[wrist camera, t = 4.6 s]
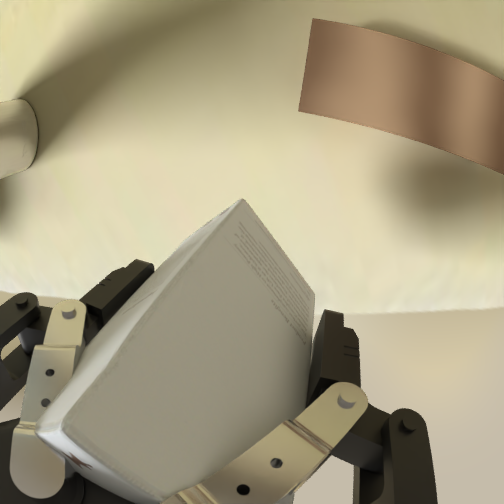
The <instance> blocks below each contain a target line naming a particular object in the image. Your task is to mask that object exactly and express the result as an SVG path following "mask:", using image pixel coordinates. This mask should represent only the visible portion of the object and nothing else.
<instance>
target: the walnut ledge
mask: <svg viewBox="0 0 504 504" xmlns="http://www.w3.org/2000/svg"><path fill="white" fill-rule="evenodd" d="M298 111H299V112H305V113H310V114H315V115H320V116H325V117H329V118H334V119H338V120H343V121H347V122H351V123H355V124H359V125H363V126H367V127H371V128H375V129H378V130H382V131H386V132H389V133H393V134H396V135H399V136H403V137H406V138H409V139H412V140H415V141H419V142H422V143H425V144H428V145H431V146H433V147H436V148H439V149H442V150H445V151H447V152H450V153H453V154H456V155H458V156H461V157H463V158H466V159H468V160H471V161H473V162H476V163H478V164H481V165H483V166H485V167H488V168H490V169H492V170H495V171H497V172H499V173H501V174H504V80H502V79H500V78H498V77H496V76H494V75H492V74H490V73H488V72H486V71H484V70H482V69H480V68H478V67H476V66H474V65H472V64H469V63H467V62H465V61H463V60H460V59H458V58H455V57H453V56H451V55H448V54H446V53H443V52H440V51H438V50H435V49H432V48H430V47H427V46H424V45H421V44H418V43H415V42H412V41H409V40H406V39H403V38H399V37H396V36H392V35H389V34H385V33H382V32H378V31H374V30H370V29H366V28H362V27H357V26H353V25H348V24H343V23H338V22H332V21H326V20H320V19H314V18H313V19H312V26H311V33H310V39H309V46H308V53H307V59H306V66H305V72H304V79H303V85H302V91H301V97H300V103H299V110H298Z"/></svg>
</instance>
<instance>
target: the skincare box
mask: <svg viewBox="0 0 504 504" xmlns="http://www.w3.org/2000/svg"><path fill="white" fill-rule="evenodd" d="M314 305H315V293H314V292H313V291H312V289H311V288H310V286H309V285H308V284H307V282H306V281H305V280H304V278H303V277H302V276H301V274H300V273H299V272H298V270H297V269H296V267H295V266H294V265H293V263H292V262H291V261H290V259H289V258H288V256H287V255H286V254H285V252H284V251H283V250H282V248H281V247H280V246H279V244H278V243H277V242H276V240H275V239H274V238H273V236H272V235H271V234H270V232H269V231H268V230H267V228H266V227H265V226H264V224H263V223H262V222H261V220H260V219H259V218H258V216H257V215H256V213H255V212H254V211H253V209H252V208H251V207H250V205H249V204H248V203H247V202H246V200H244V199H240V200H238V201H237V202H235V203H234V204H232V205H231V206H230V207H228V208H227V209H226V210H224V211H223V212H221V213H220V214H218V215H217V216H216V217H214V218H213V219H212V220H210V221H209V222H208V223H206V224H205V225H204V226H202V227H201V228H200V229H198V230H197V231H196V232H194V233H193V234H192V235H190V236H189V237H188V238H187V239H185V240H184V241H183V242H182V243H181V245H180V246H179V247H178V248H177V249H176V250H175V251H174V252H173V253H172V254H171V255H170V256H169V257H168V258H167V259H166V260H165V261H164V262H163V263H162V264H161V266H160V267H159V268H158V269H157V270H156V271H155V272H154V273H153V274H152V275H151V276H150V277H149V278H148V279H147V280H146V281H145V282H144V283H143V284H142V285H141V286H140V287H139V288H138V290H137V291H136V292H135V293H134V294H133V295H132V296H131V297H130V298H129V299H128V300H127V301H126V303H125V304H124V305H123V306H122V307H121V308H120V309H119V310H118V311H117V312H116V313H115V315H114V316H113V317H112V318H111V319H110V320H109V321H108V322H107V323H106V324H105V326H104V327H103V328H102V329H101V330H100V331H99V332H98V333H97V335H96V336H95V337H94V338H93V339H92V340H91V341H90V343H89V344H88V345H87V346H86V347H85V350H84V352H83V354H82V356H81V358H80V360H79V362H78V365H77V367H76V369H75V372H74V374H73V376H72V378H71V379H70V380H69V382H68V383H67V384H66V385H65V387H64V388H63V389H62V391H61V392H60V393H59V394H58V396H57V397H56V398H55V399H54V401H53V402H52V403H51V402H50V403H49V404H48V405H47V406H46V407H48V406H49V407H48V408H47V409H46V410H45V412H44V413H43V414H42V416H41V417H40V418H39V420H38V421H37V423H36V424H35V428H36V430H35V432H34V433H35V435H36V436H38V437H39V438H40V439H42V440H43V441H44V442H45V443H47V444H48V445H50V446H51V447H52V448H54V449H55V450H56V451H58V452H59V453H61V454H62V455H64V456H65V457H66V459H67V460H68V461H69V463H70V464H71V465H72V467H73V468H74V469H75V471H76V472H78V473H79V474H80V475H81V476H83V477H84V478H86V479H88V480H90V481H91V482H93V483H95V484H97V485H98V486H100V487H102V488H104V489H106V490H108V491H110V492H112V493H114V494H116V495H118V496H120V497H122V498H124V499H126V500H129V501H131V502H133V503H136V504H159V503H161V502H163V501H164V500H166V499H168V498H170V497H171V496H173V495H175V494H176V493H178V492H180V491H182V490H185V489H187V488H190V487H193V486H196V485H197V484H199V483H201V482H202V481H204V480H205V479H207V478H208V477H210V476H211V475H213V474H214V473H216V472H217V471H219V470H220V469H222V468H223V467H225V466H226V465H228V464H229V463H230V462H232V461H233V460H235V459H236V458H237V457H239V456H240V455H241V454H243V453H244V452H246V451H247V450H248V449H250V448H251V447H252V446H254V445H255V444H256V443H257V442H259V441H260V440H261V439H263V438H264V437H265V436H266V435H268V434H269V433H270V432H271V431H273V430H274V429H275V428H276V427H278V426H279V425H280V424H281V423H283V422H284V421H286V420H288V419H289V420H291V421H292V420H294V419H295V418H296V417H297V416H299V415H300V414H301V413H302V412H303V411H304V410H305V407H306V400H307V392H308V383H309V373H310V362H311V349H312V333H313V319H314ZM294 493H295V491H294V492H293V493H292V494H291V495H289V494H287V495H286V496H284V497H283V498H282V499H281V500H280V501H279V502H278V503H277V504H293V500H294Z"/></svg>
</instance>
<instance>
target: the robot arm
mask: <svg viewBox="0 0 504 504" xmlns="http://www.w3.org/2000/svg"><path fill="white" fill-rule="evenodd" d="M37 144H38V127H37V121H36V117H35V114H34V111H33V109H32V107H31V106H30V105H29V103H28V102H26V101H25V100H22V99H18V100H11V101H5V102H0V179H3V178H5V177H8V176H11V175H13V174H16V173H19V172H22V171H24V170H26V169H27V168H28V167H29V166H30V165H31V164H32V162H33V159H34V157H35V154H36V150H37ZM153 273H154V265H153V264H152V263H148V262H145V261H141V260H138V259H136V260H134V261H133V262H132V263H130V264H129V265H128V266H127V267H126V268H124V267H122V268H120V269H117V270H115V271H112V272H111V273H110V274H109V275H108V276H107V277H105V279H103V280H102V281H101V282H99V284H97V285H96V286H95V287H94V288H92V289H91V290H90V291H89V292H88V293H87V294H86V295H84V296H83V297H82V298H81V299H80V300H79V301H78V300H64V301H62V302H60V303H58V304H56V305H55V306H54V308H50V307H44V306H39V303H38V299H37V297H36V295H34V294H32V293H28V292H24V293H19V294H17V295H15V296H13V297H12V298H11V299H10V300H8V301H6V302H5V303H4V304H2V305H1V306H0V355H1V351H2V349H3V347H4V346H5V345H7V344H8V343H9V342H10V341H11V340H12V339H14V338H15V337H16V336H17V335H18V337H19V340H20V343H21V344H20V345H19V346H18V347H17V348H16V349H15V350H13V351H12V352H11V353H10V354H9V355H8V356H7V357H6V358H5V359H3V360H2V359H1V356H0V411H1V409H2V408H3V407H4V406H5V405H6V404H7V403H8V402H9V401H10V400H11V399H12V398H13V397H14V396H15V395H16V394H17V393H18V392H19V390H21V389H22V387H23V386H24V385H25V384H26V387H25V392H24V398H23V404H22V411H21V417H20V418H17V419H13V420H10V421H6V422H2V423H0V504H136V503H133V502H131V501H129V500H126V499H124V498H122V497H120V496H118V495H116V494H114V493H112V492H110V491H108V490H106V489H104V488H102V487H100V486H98V485H97V484H95V483H93V482H91V481H90V480H88V479H86V478H84V477H83V476H81V475H80V474H79V473H78V472H76V471H75V469H74V468H73V467H72V465H71V464H70V463H69V461H68V460H67V459H66V457H65V456H64V455H62V454H61V453H59V452H58V451H56V450H55V449H54V448H52V447H51V446H50V445H48V444H47V443H45V442H44V441H43V440H42V439H40V438H39V437H38V436H36V435H35V433H34V432H35V430H36V428H35V424H36V423H37V421H38V420H39V418H40V417H41V416H42V414H43V413H44V412H45V410H46V409H47V408H48V407H49V406H48V407H46V406H47V405H48V404H49V403H50V402H51V403H52V402H53V401H54V399H55V398H56V397H57V396H58V394H59V393H60V392H61V391H62V389H63V388H64V387H65V385H66V384H67V383H68V382H69V380H70V379H71V378H72V376H73V374H74V372H75V369H76V367H77V365H78V362H79V360H80V358H81V356H82V354H83V352H84V350H85V347H86V346H87V345H88V344H89V343H90V341H91V340H92V339H93V338H94V337H95V336H96V335H97V333H98V332H99V331H100V330H101V329H102V328H103V327H104V326H105V324H106V323H107V322H108V321H109V320H110V319H111V318H112V317H113V316H114V315H115V313H116V312H117V311H118V310H119V309H120V308H121V307H122V306H123V305H124V304H125V303H126V301H127V300H128V299H129V298H130V297H131V296H132V295H133V294H134V293H135V292H136V291H137V290H138V288H139V287H140V286H141V285H142V284H143V283H144V282H145V281H146V280H147V279H148V278H149V277H150V276H151V275H152V274H153ZM343 321H344V316H343V313H339V312H335V311H330V310H326V309H325V310H324V312H323V314H322V317H321V320H320V323H319V326H318V329H317V331H316V334H315V337H314V340H313V343H312V349H311V362H310V373H309V383H308V392H307V400H306V407H305V410H304V411H303V412H302V413H301V414H300V415H299V416H297V417H296V418H295V419H294V420H292V421H291V420H289V419H288V420H286V421H284V422H283V423H281V424H280V425H279V426H278V427H276V428H275V429H274V430H273V431H271V432H270V433H269V434H268V435H266V436H265V437H264V438H263V439H261V440H260V441H259V442H257V443H256V444H255V445H254V446H252V447H251V448H250V449H248V450H247V451H246V452H244V453H243V454H241V455H240V456H239V457H237V458H236V459H235V460H233V461H232V462H230V463H229V464H228V465H226V466H225V467H223V468H222V469H220V470H219V471H217V472H216V473H214V474H213V475H211V476H210V477H208V478H207V479H205V480H204V481H202V482H201V483H199V484H197V485H196V486H193V487H190V488H187V489H185V490H182V491H180V492H178V493H176V494H175V495H173V496H171V497H170V498H168V499H166V500H164V501H163V502H161V503H159V504H277V503H278V502H279V501H280V500H281V499H282V498H283V497H284V496H286V495H287V494H289V495H291V494H292V493H293V492H294V491H295V492H296V491H297V490H298V489H299V488H300V487H301V486H302V485H303V484H304V483H305V482H306V481H307V480H308V479H309V478H310V477H311V476H312V475H313V474H314V473H315V472H316V471H317V470H318V469H319V468H320V467H321V466H322V465H323V464H324V463H325V462H326V461H327V460H328V458H329V457H330V456H331V455H333V456H335V457H337V458H339V459H341V460H344V461H346V462H348V463H350V464H353V465H354V483H353V504H438V502H437V492H436V483H435V476H434V469H433V462H432V455H431V449H430V443H429V437H428V432H427V426H426V423H425V421H424V419H423V418H422V417H421V415H419V414H418V413H417V412H415V411H413V410H411V409H406V408H404V409H403V408H402V409H398V410H396V411H394V412H393V413H392V414H389V413H386V412H384V411H381V410H379V409H377V408H375V407H373V406H372V405H371V404H369V403H368V399H367V396H366V394H365V393H364V391H363V390H362V389H361V379H360V359H359V356H360V354H359V339H358V337H357V335H356V333H355V332H354V330H353V329H351V328H346V327H344V322H343Z"/></svg>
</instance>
